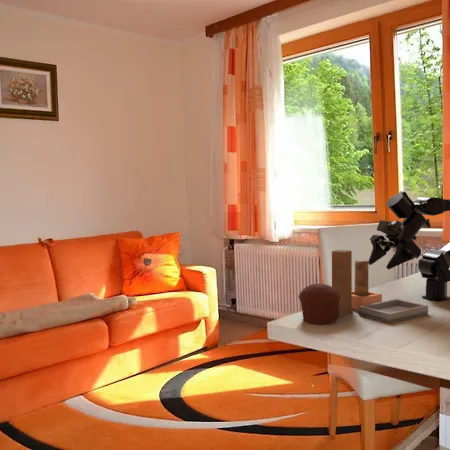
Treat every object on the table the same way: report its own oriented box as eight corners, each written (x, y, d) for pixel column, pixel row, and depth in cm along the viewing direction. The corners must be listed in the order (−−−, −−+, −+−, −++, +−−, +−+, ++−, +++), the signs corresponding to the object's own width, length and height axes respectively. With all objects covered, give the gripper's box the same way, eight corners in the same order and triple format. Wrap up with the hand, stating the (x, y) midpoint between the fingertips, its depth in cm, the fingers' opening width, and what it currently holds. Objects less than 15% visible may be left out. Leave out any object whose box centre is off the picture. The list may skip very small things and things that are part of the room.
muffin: (290, 321, 140) (290, 285, 140) (311, 313, 149) (310, 279, 148) (329, 328, 133) (329, 291, 132) (348, 319, 141) (348, 283, 140)
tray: (396, 306, 154) (396, 298, 154) (428, 314, 145) (428, 305, 145) (358, 314, 146) (358, 306, 146) (389, 323, 136) (389, 314, 136)
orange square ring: (360, 302, 161) (361, 289, 161) (381, 307, 154) (381, 294, 154) (341, 305, 157) (341, 293, 157) (362, 311, 150) (362, 297, 149)
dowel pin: (361, 304, 158) (361, 259, 157) (371, 306, 155) (371, 261, 154) (351, 306, 156) (351, 260, 155) (361, 308, 153) (361, 262, 152)
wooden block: (339, 317, 144) (338, 253, 142) (324, 315, 146) (324, 252, 145) (352, 310, 151) (352, 250, 149) (337, 308, 153) (337, 249, 152)
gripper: (374, 209, 166) (345, 245, 163) (413, 212, 148) (380, 252, 145) (395, 232, 169) (366, 268, 166) (435, 238, 151) (403, 277, 148)
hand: (377, 266), depth 156 cm, fingers open, 9 cm apart
